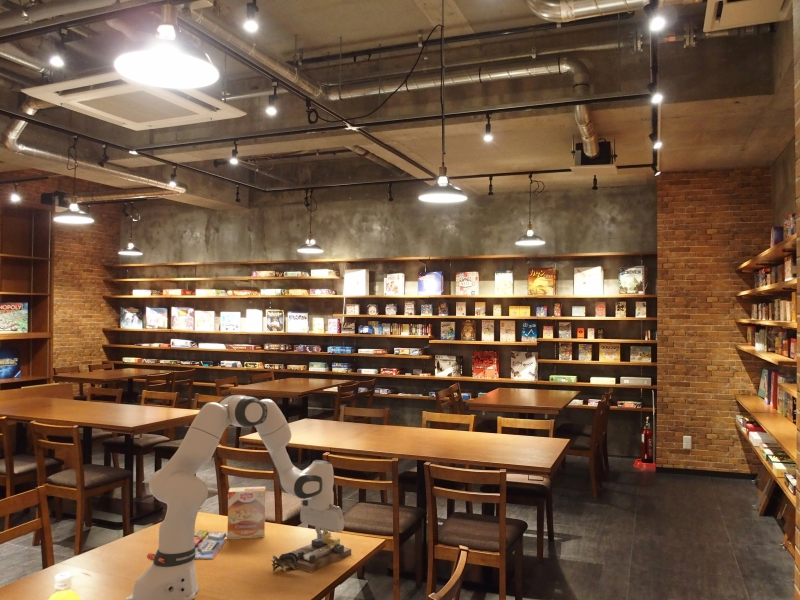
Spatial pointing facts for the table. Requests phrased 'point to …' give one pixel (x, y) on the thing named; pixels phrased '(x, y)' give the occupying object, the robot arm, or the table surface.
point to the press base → (321, 561)
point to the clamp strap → (319, 552)
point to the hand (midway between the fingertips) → (321, 538)
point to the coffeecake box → (246, 512)
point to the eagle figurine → (285, 561)
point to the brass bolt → (330, 539)
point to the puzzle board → (208, 543)
